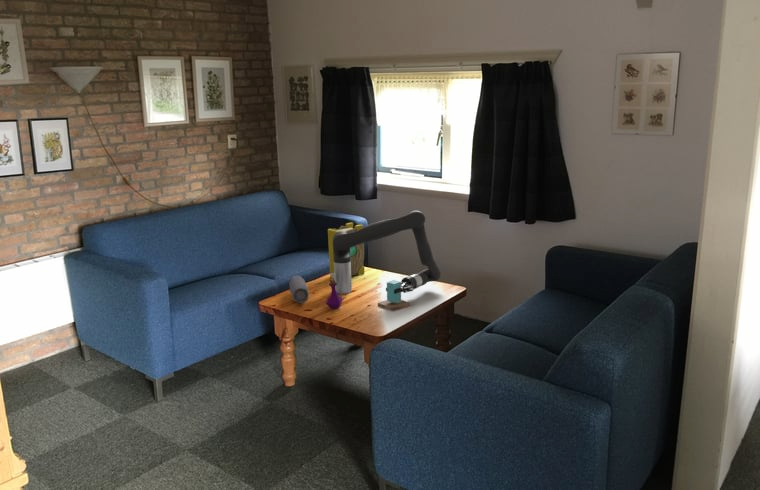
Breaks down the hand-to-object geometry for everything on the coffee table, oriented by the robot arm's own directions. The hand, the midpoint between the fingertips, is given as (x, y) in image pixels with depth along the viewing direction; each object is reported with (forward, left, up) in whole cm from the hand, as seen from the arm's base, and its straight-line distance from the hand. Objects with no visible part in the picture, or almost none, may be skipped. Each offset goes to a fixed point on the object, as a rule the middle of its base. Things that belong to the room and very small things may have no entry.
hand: (390, 290), depth 331 cm
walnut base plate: (0, +3, -9) cm, 9 cm away
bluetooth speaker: (-44, -27, -9) cm, 53 cm away
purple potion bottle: (-19, -21, -9) cm, 30 cm away
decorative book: (-61, +16, -9) cm, 64 cm away
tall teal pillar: (0, +3, -6) cm, 7 cm away
